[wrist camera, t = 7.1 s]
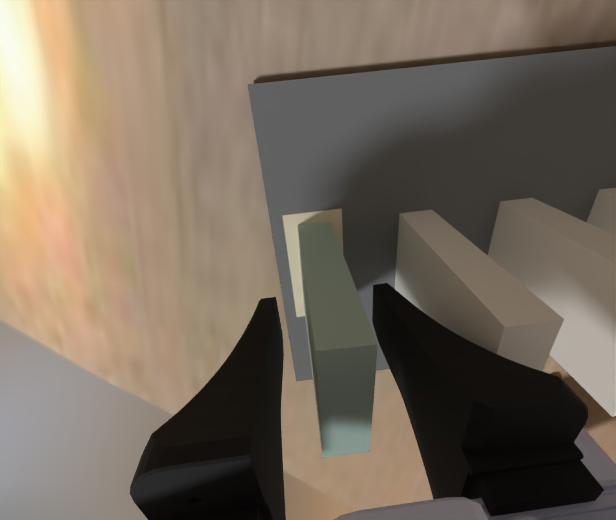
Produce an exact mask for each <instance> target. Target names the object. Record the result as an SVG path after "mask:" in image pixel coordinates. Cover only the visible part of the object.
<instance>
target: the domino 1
mask: <svg viewBox="0 0 616 520" xmlns="http://www.w3.org/2000/svg"><path fill="white" fill-rule="evenodd" d="M297 227H298V239H299V251H300V263H301V276H302V288H303V300H304V311H305V319H306V327H307V335H308V343H309V351H310V360H311V368H312V376H313V384H314V392H315V400H316V409H317V417H318V425H319V433H320V441H321V449H322V458H323V457H331V456H339V455H347V454H355V453H363V452H370V439H371V425H372V412H373V399H374V386H375V373H376V360H377V347H378V344H377V341H376V339H375V336H374V334H373V331H372V328H371V326H370V323H369V321H368V318H367V315H366V313H365V310H364V308H363V305H362V302H361V300H360V297H359V295H358V292H357V289H356V287H355V284H354V282H353V279H352V276H351V274H350V271H349V268H348V266H347V263H346V261H345V258H344V255H343V253H342V250H341V248H340V245H339V242H338V240H337V237H336V235H335V232H334V229H333V227H332V224H331V222H324V223H313V224H302V225H297Z"/></svg>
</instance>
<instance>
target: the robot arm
mask: <svg viewBox="0 0 616 520" xmlns="http://www.w3.org/2000/svg"><path fill="white" fill-rule="evenodd" d="M372 322H373V326H374V329H375V333H376V336H377V339H378V342H379V345H380V347H381V349H382V352H383V354H384V356H385V359H386V361H387V363H388V365H389V367H390V370H391V372H392V374H393V376H394V379H395V381H396V383H397V385H398V388H399V390H400V392H401V395H402V398H403V400H404V403H405V406H406V409H407V412H408V415H409V418H410V421H411V424H412V428H413V431H414V434H415V437H416V440H417V443H418V447H419V450H420V453H421V457H422V460H423V463H424V467H425V470H426V474H427V477H428V481H429V484H430V488H431V491H432V495H433V500H427V501H420V502H413V503H407V504H400V505H393V506H386V507H380V508H373V509H366V510H359V511H356V512H352V513H348V514H345V515H342V516H339V517H338V518H336V519H335V520H616V464H615V463H614V462H613V461H612V459H611V458H610V457H609V456H608V455H607V454H606V453H605V451H604V450H603V449H602V448H601V447H600V446H599V445H598V444H597V442H596V441H595V440H594V439H593V438H592V437H591V436H590V435H589V433H588V432H587V431H586V430H585V429H584V428H583V427H584V425H585V423H586V421H587V418H588V408H587V406H586V405H585V404H584V402H583V401H582V400H581V399H580V398H579V397H578V396H577V395H576V394H575V393H574V392H573V391H572V390H571V389H570V388H569V387H568V386H567V385H566V384H565V382H564V381H562V380H561V379H560V378H559V377H557V376H554V375H551V374H548V373H545V372H542V371H539V370H536V369H533V368H530V367H527V366H525V365H522V364H519V363H517V362H514V361H512V360H509V359H507V358H505V357H502V356H500V355H498V354H495V353H493V352H491V351H489V350H487V349H484V348H482V347H480V346H478V345H476V344H474V343H472V342H470V341H468V340H467V339H465V338H463V337H461V336H459V335H458V334H456V333H454V332H452V331H451V330H449V329H447V328H446V327H444V326H443V325H441V324H440V323H438V322H437V321H435V320H434V319H432V318H431V317H429V316H428V315H427V314H425V313H424V312H422V311H421V310H420V309H419V308H417V307H416V306H415V305H413V304H412V303H411V302H410V301H408V300H407V299H406V298H405V297H404V296H402V295H401V294H400V293H399V292H398V291H396V290H395V289H394V288H393V287H392V286H390V285H389V284H388V283H383V284H376V285H373V313H372ZM283 356H284V354H283V337H282V329H281V323H280V318H279V312H278V307H277V301H276V297H272V298H264V299H261V300H260V301H259V303H258V305H257V308H256V310H255V312H254V314H253V316H252V319H251V321H250V322H249V324H248V326H247V328H246V330H245V332H244V333H243V335H242V337H241V338H240V340H239V342H238V343H237V345H236V346H235V348H234V350H233V351H232V352H231V354H230V355H229V357H228V358H227V360H226V361H225V362H224V364H223V365H222V366H221V367H220V369H219V370H218V371H217V372H216V374H215V375H214V376H213V377H212V378H211V379H210V381H209V382H208V383H207V384H206V385H205V386H204V387H203V388H202V389H201V391H200V392H199V393H198V394H197V395H196V396H195V397H194V398H193V399H192V400H190V401H189V402H188V403H187V404H186V405H185V406H184V407H183V408H182V409H181V410H180V411H179V412H178V413H177V414H175V415H174V416H173V417H172V418H171V419H169V420H168V421H167V422H166V423H165V424H163V425H162V426H161V427H160V428H159V429H157V430H156V431H155V432H154V433H152V435H151V437H150V439H149V441H148V443H147V445H146V447H145V449H144V452H143V454H142V456H141V459H140V462H139V465H138V467H137V470H136V473H135V475H134V478H133V481H132V484H131V487H130V495H131V497H132V499H133V501H134V502H135V504H136V505H137V506H138V507H139V509H140V510H141V511H142V512H143V514H144V515H145V516H146V517H147V519H148V520H286V517H285V500H284V480H283V460H282V438H281V393H282V375H283Z"/></svg>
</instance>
